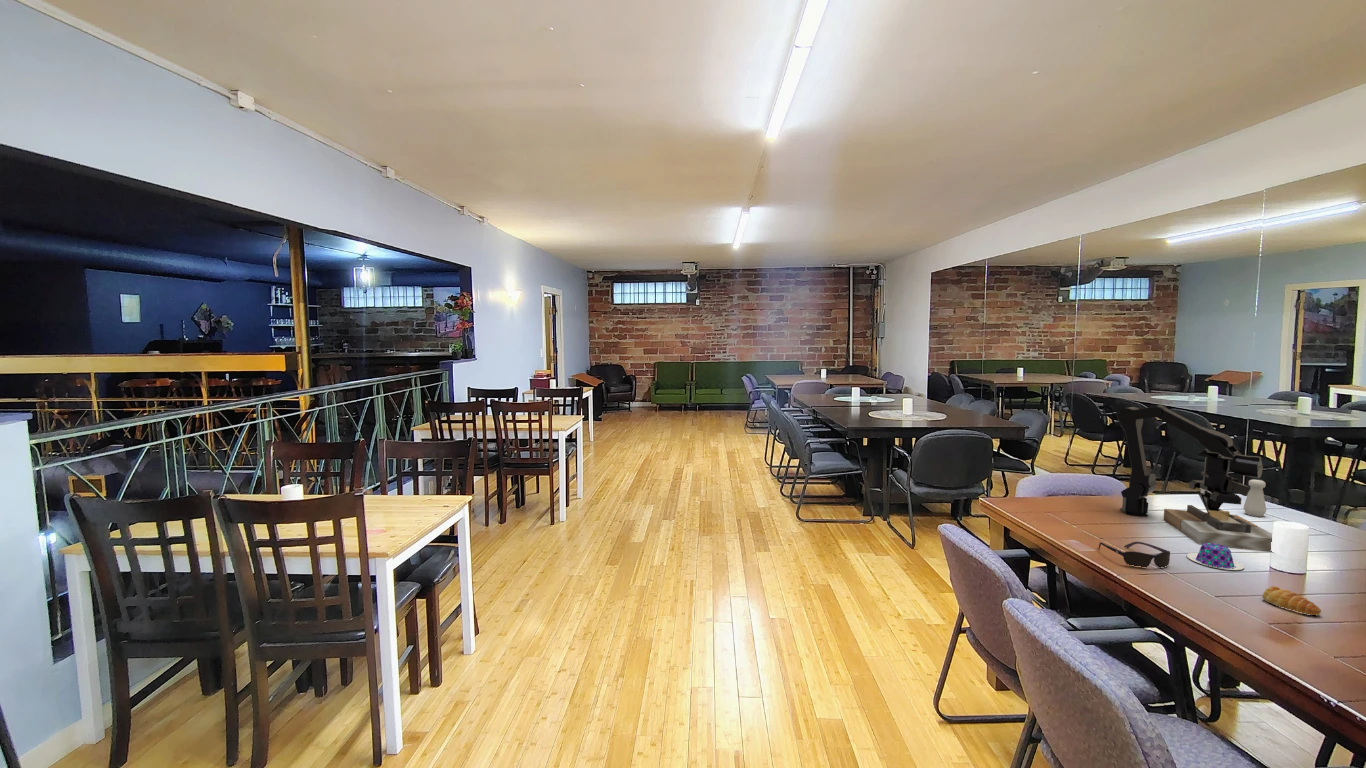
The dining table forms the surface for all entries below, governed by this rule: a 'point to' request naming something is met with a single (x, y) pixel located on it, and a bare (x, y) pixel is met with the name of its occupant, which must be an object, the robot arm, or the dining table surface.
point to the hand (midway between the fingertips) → (1211, 516)
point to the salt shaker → (1255, 499)
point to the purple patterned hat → (1215, 556)
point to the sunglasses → (1142, 556)
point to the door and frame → (1218, 529)
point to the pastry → (1290, 600)
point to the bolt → (1221, 516)
